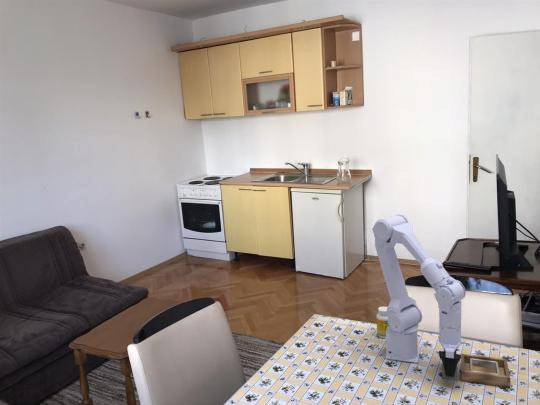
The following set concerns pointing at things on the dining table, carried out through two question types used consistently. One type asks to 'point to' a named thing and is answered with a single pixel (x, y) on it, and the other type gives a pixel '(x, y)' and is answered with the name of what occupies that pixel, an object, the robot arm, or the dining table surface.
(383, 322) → the supplement bottle
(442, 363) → the grey rectangular block
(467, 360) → the box
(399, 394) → the dining table surface
